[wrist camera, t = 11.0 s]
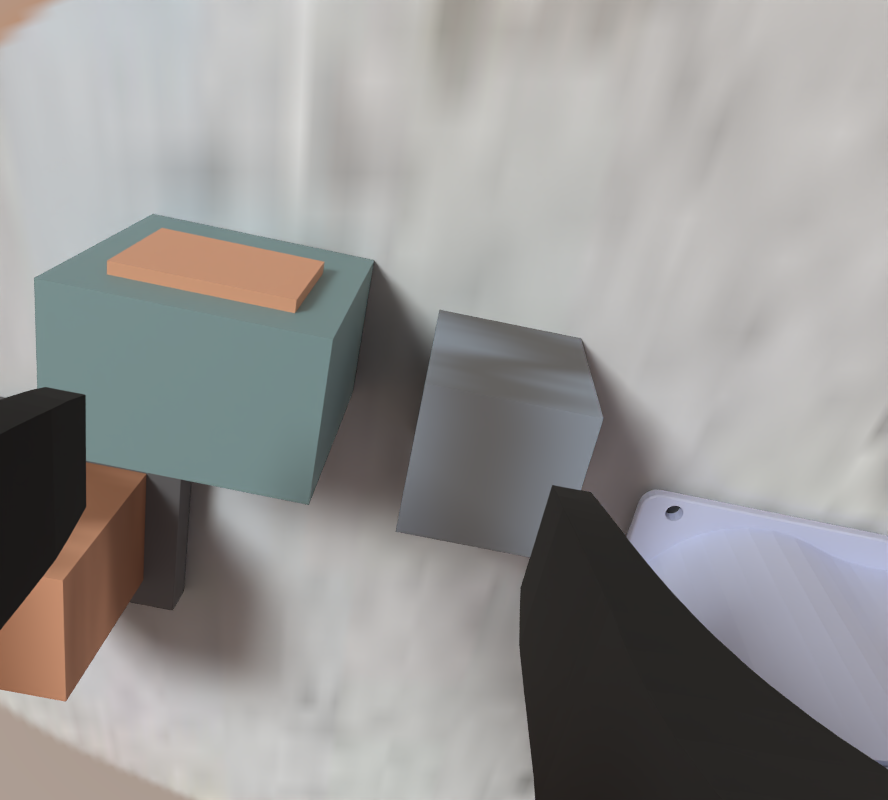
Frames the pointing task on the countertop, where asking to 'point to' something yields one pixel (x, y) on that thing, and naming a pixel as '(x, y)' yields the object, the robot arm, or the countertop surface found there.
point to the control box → (206, 352)
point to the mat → (163, 540)
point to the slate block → (497, 433)
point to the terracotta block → (79, 590)
